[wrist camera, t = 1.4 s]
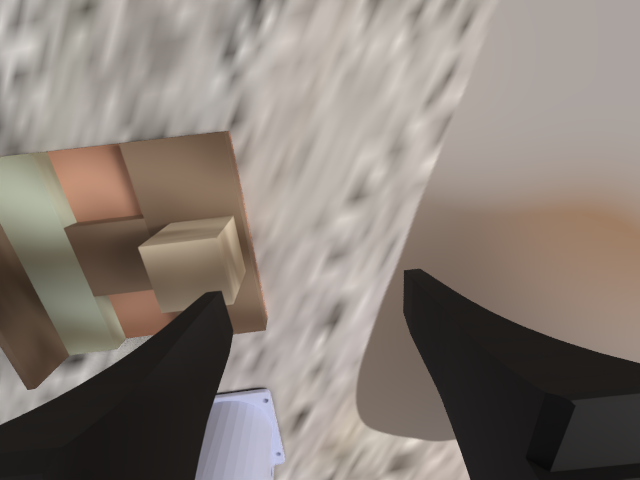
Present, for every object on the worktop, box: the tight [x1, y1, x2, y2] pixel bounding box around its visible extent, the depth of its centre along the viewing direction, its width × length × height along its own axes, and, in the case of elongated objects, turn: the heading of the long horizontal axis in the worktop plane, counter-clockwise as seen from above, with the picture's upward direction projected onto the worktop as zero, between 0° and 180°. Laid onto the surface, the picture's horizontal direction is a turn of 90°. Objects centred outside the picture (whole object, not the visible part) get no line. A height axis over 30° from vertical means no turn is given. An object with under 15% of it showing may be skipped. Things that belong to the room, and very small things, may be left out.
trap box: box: [0, 131, 268, 390], centre depth 19 cm, size 14×15×4 cm
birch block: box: [138, 216, 246, 313], centre depth 18 cm, size 4×4×4 cm
